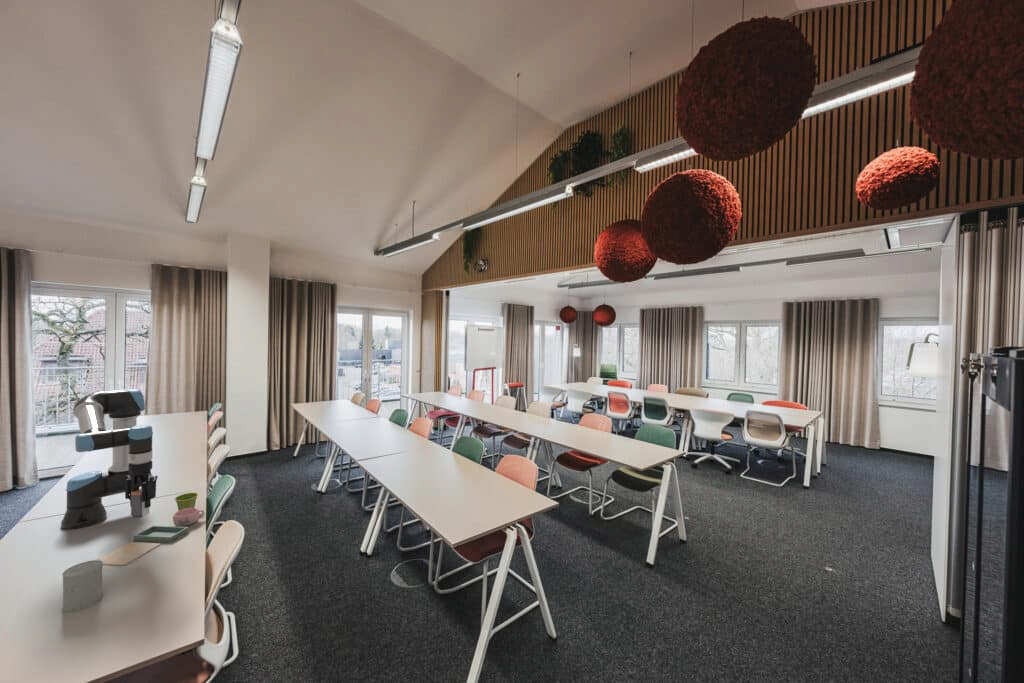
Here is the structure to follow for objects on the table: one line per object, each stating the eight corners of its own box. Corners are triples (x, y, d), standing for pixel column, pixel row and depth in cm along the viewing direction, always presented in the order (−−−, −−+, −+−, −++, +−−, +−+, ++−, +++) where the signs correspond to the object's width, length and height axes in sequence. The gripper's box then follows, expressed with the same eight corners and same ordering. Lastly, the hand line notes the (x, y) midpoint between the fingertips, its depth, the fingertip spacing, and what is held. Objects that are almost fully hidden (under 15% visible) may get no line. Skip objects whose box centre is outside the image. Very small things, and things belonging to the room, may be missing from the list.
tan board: (91, 564, 157) (91, 563, 157) (130, 542, 173) (130, 541, 173) (124, 565, 157) (124, 564, 157) (161, 544, 173) (161, 543, 173)
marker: (130, 518, 166) (130, 492, 166) (140, 513, 171) (140, 488, 170) (139, 518, 166) (140, 492, 166) (149, 514, 170) (149, 488, 170)
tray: (133, 541, 175) (133, 535, 175) (152, 530, 184) (153, 525, 184) (170, 542, 175) (170, 537, 174) (188, 532, 184) (188, 527, 184)
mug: (172, 530, 185) (172, 518, 184) (173, 522, 192) (173, 510, 192) (204, 523, 192) (204, 511, 192) (203, 515, 200) (203, 504, 200)
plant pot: (184, 518, 197) (184, 501, 197) (169, 515, 199) (169, 499, 199) (202, 509, 206) (202, 493, 206) (188, 507, 208) (188, 491, 208)
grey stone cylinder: (82, 593, 141) (82, 560, 140) (110, 592, 142) (110, 559, 141) (53, 612, 131) (53, 577, 131) (84, 611, 132) (84, 576, 132)
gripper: (112, 463, 165) (112, 517, 165) (150, 465, 164) (150, 519, 164) (131, 458, 172) (130, 509, 173) (167, 459, 171) (167, 511, 172)
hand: (140, 514), depth 168 cm, fingers closed on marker, 4 cm apart
